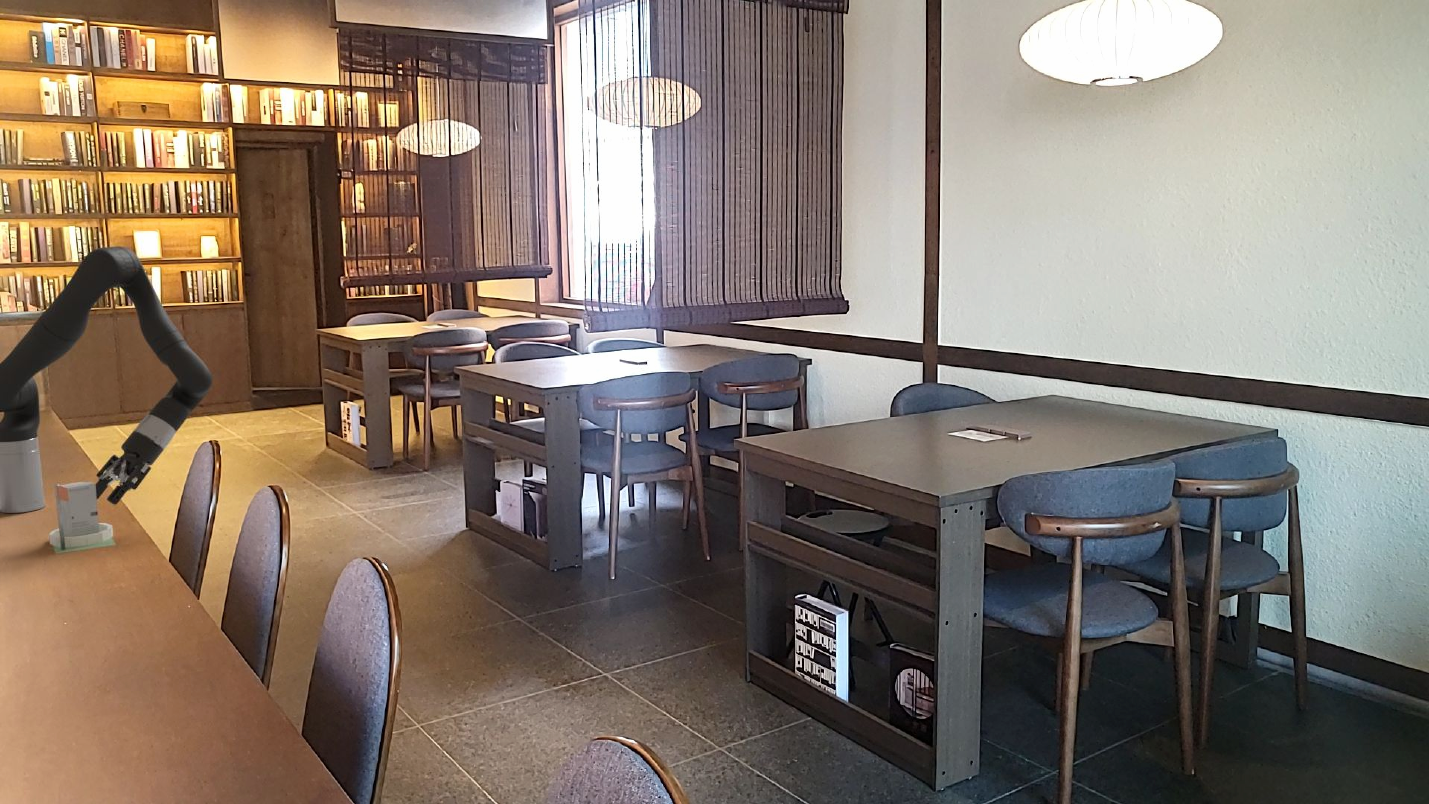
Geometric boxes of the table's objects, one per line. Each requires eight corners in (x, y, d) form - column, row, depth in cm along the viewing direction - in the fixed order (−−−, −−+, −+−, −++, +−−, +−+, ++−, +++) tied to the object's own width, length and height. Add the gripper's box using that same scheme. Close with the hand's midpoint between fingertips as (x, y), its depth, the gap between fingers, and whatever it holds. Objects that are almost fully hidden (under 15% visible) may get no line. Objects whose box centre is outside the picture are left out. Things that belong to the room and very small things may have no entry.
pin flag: (60, 549, 231) (53, 484, 228) (64, 548, 231) (57, 483, 229) (71, 553, 228) (64, 487, 226) (75, 552, 228) (68, 486, 226)
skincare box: (71, 543, 235) (65, 488, 233) (62, 540, 238) (56, 485, 236) (101, 537, 240) (96, 483, 238) (93, 534, 242) (87, 480, 240)
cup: (40, 541, 237) (39, 532, 237) (96, 529, 246) (95, 520, 246) (66, 550, 230) (65, 540, 230) (122, 537, 240) (121, 528, 239)
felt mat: (49, 535, 243) (49, 533, 243) (106, 527, 249) (106, 526, 249) (55, 555, 228) (55, 553, 228) (115, 546, 234) (115, 544, 234)
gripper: (120, 426, 250) (72, 486, 243) (152, 433, 241) (103, 494, 234) (146, 445, 255) (99, 504, 248) (178, 452, 246) (131, 513, 239)
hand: (101, 499), depth 241 cm, fingers open, 8 cm apart
